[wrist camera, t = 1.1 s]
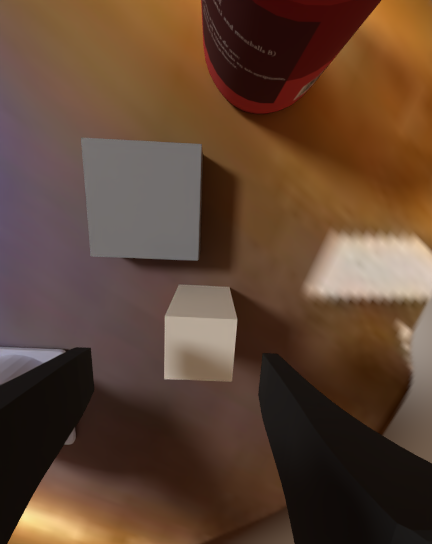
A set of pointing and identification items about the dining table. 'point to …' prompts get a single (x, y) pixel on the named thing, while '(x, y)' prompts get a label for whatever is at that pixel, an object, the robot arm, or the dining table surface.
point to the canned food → (275, 46)
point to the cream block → (200, 334)
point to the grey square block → (143, 198)
